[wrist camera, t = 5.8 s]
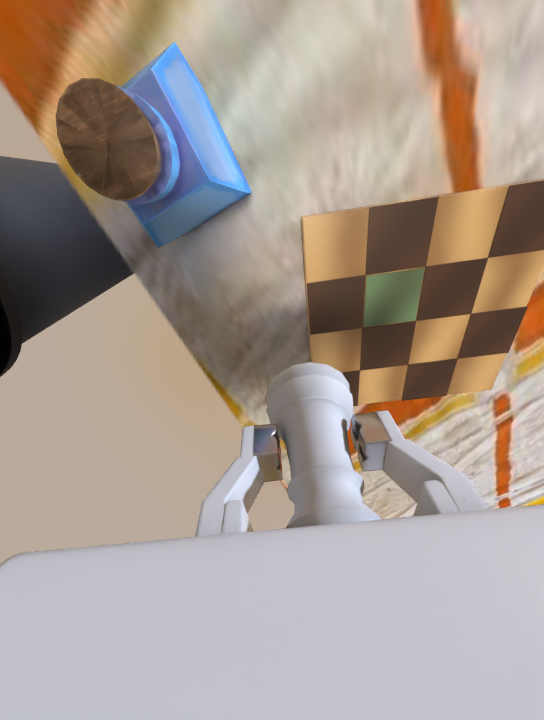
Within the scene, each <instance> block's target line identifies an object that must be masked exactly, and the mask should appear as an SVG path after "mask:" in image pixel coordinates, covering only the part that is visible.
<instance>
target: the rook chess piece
mask: <svg viewBox="0 0 544 720" xmlns="http://www.w3.org/2000/svg"><path fill="white" fill-rule="evenodd" d="M265 399H266V402H267V413H268V416H269V420H270V423H271V424H277V429H278V436H279V437H280V438H281V439H282V440H283V441H284V443H285V445H286V450H287V454H288V458H289V463H290V469H291V481H290V483H289V485H288V488H287V493H288V496H289V499H290V500H291V501H292V502H293V503H294V505H295V513H294V515H293V517H292V518H291V520H290V522H289V523H288V525H287V527H286V528H295V527H306V526H316V525H327V524H337V523H348V522H359V521H370V520H380V519H381V518H380V517H379V516H378V515H377V514H376V513H374V512H373V511H372V510H371V509H370V508H369V507H367V506H366V505H365V504H364V502H363V500H362V497H361V494H362V492H363V490H364V480H363V479H362V477H361V476H360V475H359V474H358V473H357V472H356V471H355V470H354V467H353V464H352V460H351V457H350V451H349V444H348V437H347V432H348V430H349V427H350V420H351V418H352V415H353V396H352V394H351V393H350V388H349V383H348V381H347V380H346V379H345V377H344V376H343V374H342V373H341V372H340V371H338V370H336V369H334V368H332V367H331V366H329V365H325V364H319V363H312V362H308V363H303V364H298V365H293V366H291V367H289V368H287V369H286V370H284V371H282V372H280V373H279V374H277V375H276V377H275V378H274V379H273V380H272V382H271V383H270V384H269V385H268V389H267V393H266V398H265Z"/></svg>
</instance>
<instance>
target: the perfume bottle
mask: <svg viewBox="0 0 544 720" xmlns="http://www.w3.org/2000/svg"><path fill="white" fill-rule="evenodd" d="M56 125H57V136H58V139H59V141H60V144H61V147H62V150H63V153H64V155H65V157H66V159H67V160H68V162H69V164H70V165H71V167H72V169H73V170H74V172H75V173H76V174H77V175H78V176H79V177H80V178H81V180H82V181H83V182H84V183H85V184H86V185H87V186H88V187H90V188H91V189H93V190H94V191H96V192H97V193H99V194H100V195H102V196H105V197H108V198H111V199H114V200H122V201H125V202H126V203H127V205H128V206H129V208H130V209H131V210H132V212H133V213H134V215H135V216H136V217H137V219H138V220H139V222H140V223H141V225H142V226H143V227H144V229H145V230H146V232H147V233H148V235H149V236H150V237H151V239H152V240H153V242H154V243H155V245H156V246H157V247H158V248H159V247H161V246H163V245H165V244H166V243H168V242H170V241H172V240H174V239H176V238H178V237H180V236H182V235H184V234H185V233H187V232H189V231H190V230H192V229H194V228H195V227H197V226H198V225H200V224H202V223H203V222H205V221H206V220H208V219H210V218H211V217H213V216H215V215H216V214H218V213H219V212H221V211H223V210H224V209H226V208H227V207H229V206H231V205H232V204H234V203H235V202H237V201H239V200H240V199H242V198H244V197H245V196H247V195H248V194H250V193H252V192H251V190H250V188H249V186H248V184H247V181H246V179H245V177H244V175H243V173H242V171H241V169H240V166H239V164H238V162H237V160H236V158H235V156H234V154H233V151H232V149H231V147H230V145H229V143H228V141H227V139H226V136H225V134H224V132H223V130H222V128H221V126H220V123H219V121H218V119H217V117H216V115H215V113H214V111H213V108H212V106H211V104H210V102H209V100H208V98H207V96H206V93H205V91H204V89H203V87H202V86H201V84H200V83H199V81H198V79H197V78H196V76H195V74H194V73H193V71H192V69H191V68H190V66H189V64H188V63H187V61H186V60H185V58H184V56H183V55H182V53H181V51H180V50H179V48H178V46H177V45H176V43H175V42H174V43H173V44H172V45H171V46H169V47H168V48H167V49H166V50H165V51H163V52H162V53H161V54H160V55H159V56H157V57H156V58H155V59H154V60H153V61H152V62H150V63H149V64H148V65H147V66H146V67H144V68H143V69H142V70H141V71H140V72H138V73H137V74H136V75H135V76H134V77H133V78H131V79H130V80H129V81H128V82H127V83H125V84H124V85H123V86H122V87H119V86H116V85H113V84H111V83H109V82H106V81H104V80H101V79H99V78H82V79H80V80H78V81H76V82H74V83H72V84H70V85H68V87H67V88H66V90H65V91H64V93H63V94H62V96H61V97H60V99H59V103H58V108H57V112H56Z"/></svg>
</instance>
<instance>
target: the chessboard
mask: <svg viewBox="0 0 544 720" xmlns="http://www.w3.org/2000/svg"><path fill="white" fill-rule="evenodd" d="M301 225H302V240H303V255H304V270H305V285H306V300H307V315H308V330H309V346H310V361H311V362H312V363H319V364H325V365H329V366H331V367H332V368H334V369H336V370H338V371H340V372H341V373H342V374H343V376H344V377H345V379H346V380H347V381H348V383H349V388H350V393H351V394H352V396H353V406H358V405H359V404H368V403H377V402H386V401H395V400H402V401H403V400H411V399H420V398H429V397H438V396H447V395H448V394H456V393H465V392H474V391H483V390H491V389H492V387H493V385H494V382H495V380H496V378H497V375H498V373H499V370H500V368H501V366H502V363H503V361H504V359H505V356H506V354H507V353H508V352H509V350H510V348H511V345H512V343H513V340H514V338H515V336H516V333H517V331H518V329H519V326H520V324H521V321H522V319H523V317H524V314H525V312H526V310H527V304H528V301H529V299H530V296H531V294H532V292H533V289H534V287H535V285H536V282H537V280H538V277H539V275H540V273H541V270H542V268H543V265H544V179H540V180H534V181H527V182H521V183H514V184H508V185H502V186H495V187H489V188H482V189H476V190H469V191H463V192H457V193H450V194H444V195H437V196H431V197H425V198H418V199H412V200H405V201H399V202H392V203H386V204H380V205H373V206H367V207H360V208H354V209H347V210H341V211H335V212H328V213H322V214H315V215H309V216H302V217H301Z"/></svg>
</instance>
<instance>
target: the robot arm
mask: <svg viewBox="0 0 544 720" xmlns="http://www.w3.org/2000/svg"><path fill="white" fill-rule="evenodd" d="M351 421H352V424H353V426H352V427H351V437H352V442H353V445H354V448H355V450H357V451H358V460H359V462H360V465H361V468H362V471H375V470H383V471H384V472H385V473H386V474H387V475H388V476H389V477H390V478H391V479H392V480H393V481H394V482H395V483H397V484H398V485H399V486H400V487H401V488H402V489H403V490H404V491H405V492H406V493H407V494H408V495H409V496H411V497H412V498H413V499H414V500H415V501H416V502H417V506H416V510H415V513H414V516H413V517H402V518H391V519H380V520H370V521H359V522H348V523H337V524H327V525H316V526H306V527H295V528H284V529H274V530H263V531H253V529H252V526H251V523H250V521H249V518H248V515H247V513H248V511H249V509H250V508H251V506H252V504H253V502H254V500H255V499H256V497H257V495H258V493H259V491H260V489H261V487H262V485H263V484H264V483H263V482H269V481H277V480H283V479H282V464H281V459H280V458H281V448H280V440H279V436H278V429H277V424H266V425H255V426H246V427H243V430H242V440H241V451H240V458H236V459H235V461H234V462H233V463H232V465H231V466H230V467H229V468H228V470H227V471H226V472H225V474H224V475H223V476H222V477H221V479H220V480H219V481H218V483H217V484H216V485H215V486H214V488H213V489H212V490H211V492H210V493H209V494H208V495H207V497H206V498H205V499H204V500H203V502H202V505H201V511H200V515H199V520H198V525H197V529H196V534H195V537H188V538H177V539H166V540H155V541H145V542H134V543H124V544H113V545H101V546H91V547H79V548H69V549H58V550H47V551H35V552H25V553H19V554H16V555H13V556H12V557H10V558H8V559H7V560H5V561H4V562H2V563H1V564H0V720H544V504H541V505H531V506H520V507H509V508H498V509H489V507H488V506H487V504H486V503H485V502H484V500H483V499H482V497H481V496H480V495H479V493H478V492H477V490H476V489H475V487H474V486H473V485H472V483H471V482H470V480H469V479H468V478H467V476H465V475H464V474H462V473H461V472H459V471H457V470H456V469H454V468H453V467H451V466H450V465H448V464H447V463H445V462H443V461H442V460H440V459H439V458H437V457H436V456H434V455H432V454H431V453H429V452H428V451H426V450H425V449H423V448H421V447H420V446H418V445H417V444H415V443H414V442H412V441H410V440H409V439H406V440H405V439H404V437H403V435H402V434H401V432H400V430H399V428H398V427H397V425H396V423H395V421H394V420H393V418H392V416H391V414H390V413H389V412H388V411H387V410H386V411H378V412H369V413H361V414H353V415H352V419H351Z"/></svg>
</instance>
